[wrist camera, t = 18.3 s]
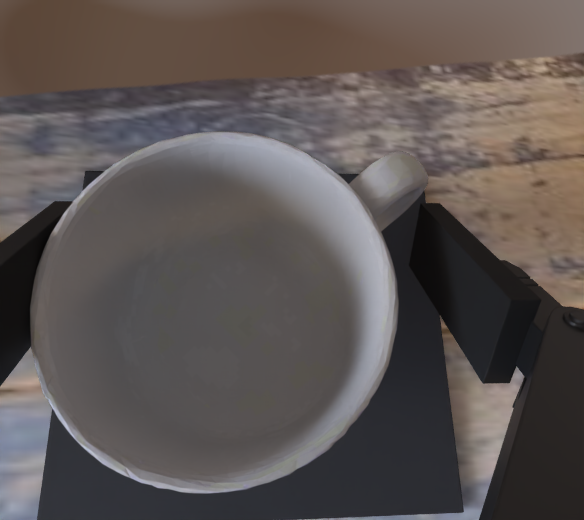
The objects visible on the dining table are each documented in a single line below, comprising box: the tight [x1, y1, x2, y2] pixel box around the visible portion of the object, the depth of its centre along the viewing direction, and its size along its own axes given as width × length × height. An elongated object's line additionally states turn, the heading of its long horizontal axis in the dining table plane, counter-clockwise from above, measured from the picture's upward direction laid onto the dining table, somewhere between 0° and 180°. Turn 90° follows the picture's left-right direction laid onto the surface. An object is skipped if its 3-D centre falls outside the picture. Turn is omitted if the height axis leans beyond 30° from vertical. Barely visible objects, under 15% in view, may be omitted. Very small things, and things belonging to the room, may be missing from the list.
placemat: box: [37, 171, 464, 520], centre depth 24 cm, size 22×20×1 cm
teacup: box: [30, 131, 428, 493], centre depth 16 cm, size 14×11×8 cm
